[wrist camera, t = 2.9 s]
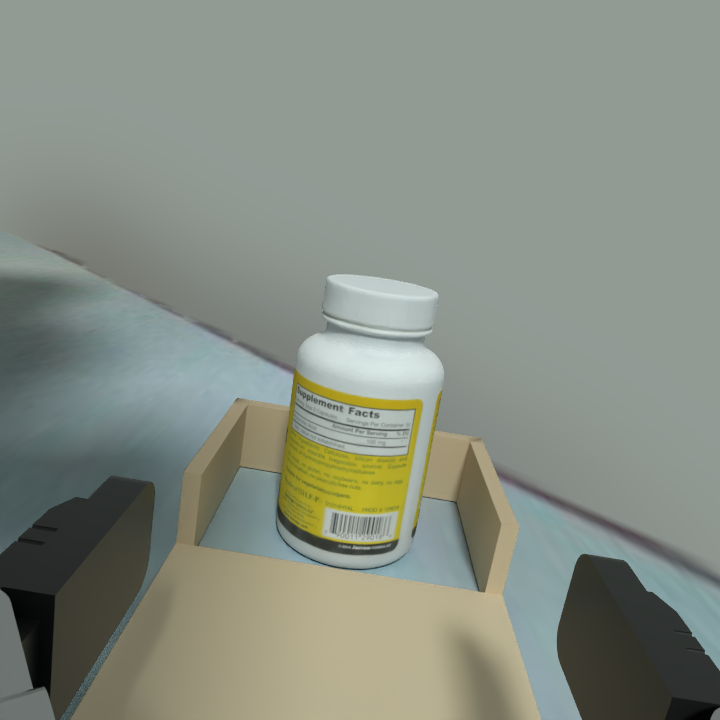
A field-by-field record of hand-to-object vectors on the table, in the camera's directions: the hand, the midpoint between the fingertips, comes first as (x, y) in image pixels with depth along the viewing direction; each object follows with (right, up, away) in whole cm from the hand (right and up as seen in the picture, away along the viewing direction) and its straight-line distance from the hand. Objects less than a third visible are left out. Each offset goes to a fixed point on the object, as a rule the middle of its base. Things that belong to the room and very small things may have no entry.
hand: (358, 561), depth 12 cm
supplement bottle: (-1, -3, +13) cm, 13 cm away
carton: (-1, -4, +10) cm, 10 cm away
